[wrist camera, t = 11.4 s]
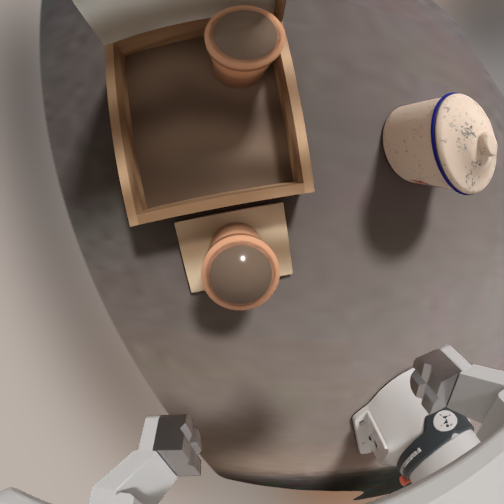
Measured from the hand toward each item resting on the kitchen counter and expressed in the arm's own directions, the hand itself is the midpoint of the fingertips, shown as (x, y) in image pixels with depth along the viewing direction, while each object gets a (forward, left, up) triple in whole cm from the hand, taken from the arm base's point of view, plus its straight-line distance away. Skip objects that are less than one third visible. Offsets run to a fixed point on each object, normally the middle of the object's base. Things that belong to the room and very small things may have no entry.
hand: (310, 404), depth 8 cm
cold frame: (+15, +2, -19) cm, 24 cm away
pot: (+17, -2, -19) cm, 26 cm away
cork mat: (0, +2, -19) cm, 19 cm away
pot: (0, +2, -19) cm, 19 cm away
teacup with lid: (+9, -20, -20) cm, 30 cm away
